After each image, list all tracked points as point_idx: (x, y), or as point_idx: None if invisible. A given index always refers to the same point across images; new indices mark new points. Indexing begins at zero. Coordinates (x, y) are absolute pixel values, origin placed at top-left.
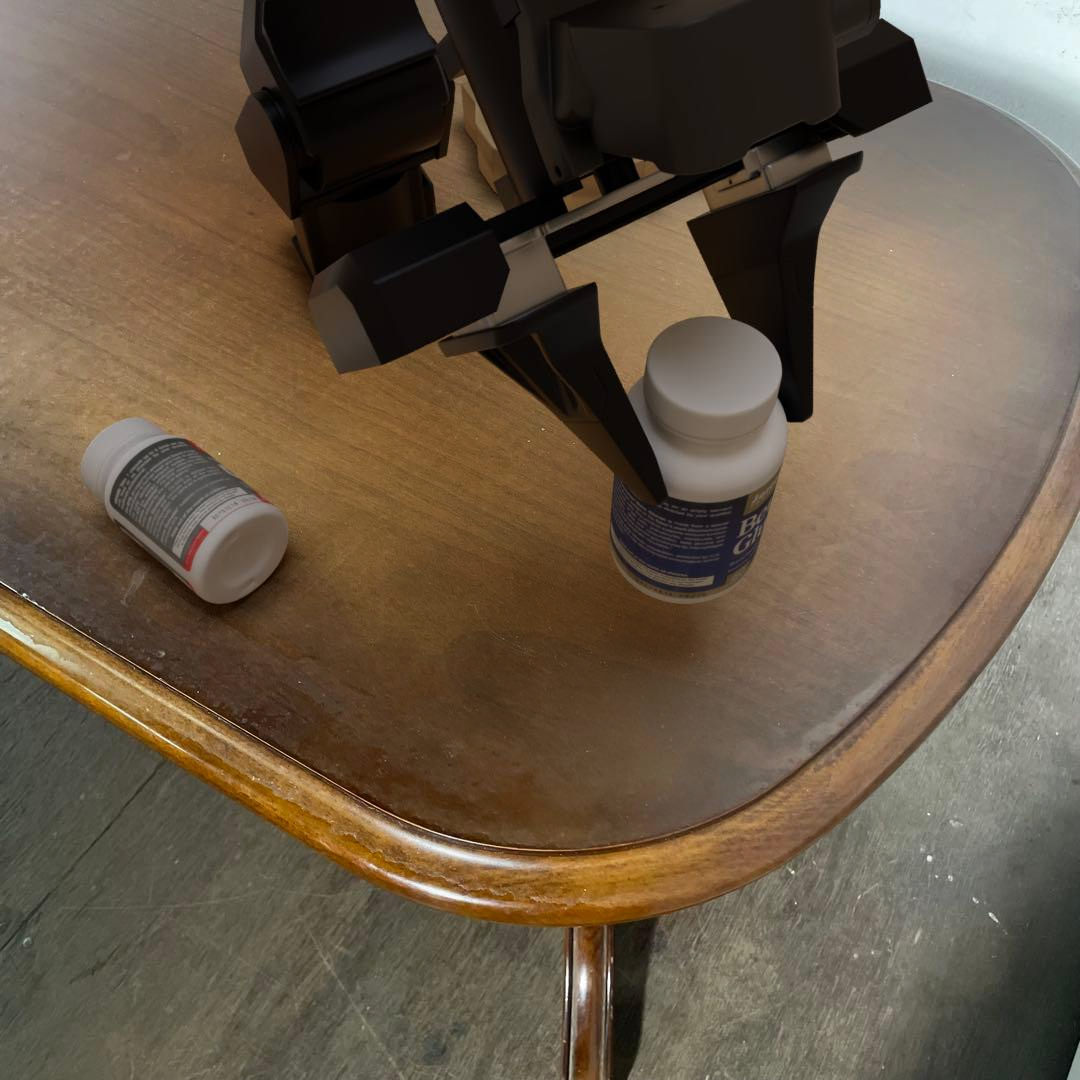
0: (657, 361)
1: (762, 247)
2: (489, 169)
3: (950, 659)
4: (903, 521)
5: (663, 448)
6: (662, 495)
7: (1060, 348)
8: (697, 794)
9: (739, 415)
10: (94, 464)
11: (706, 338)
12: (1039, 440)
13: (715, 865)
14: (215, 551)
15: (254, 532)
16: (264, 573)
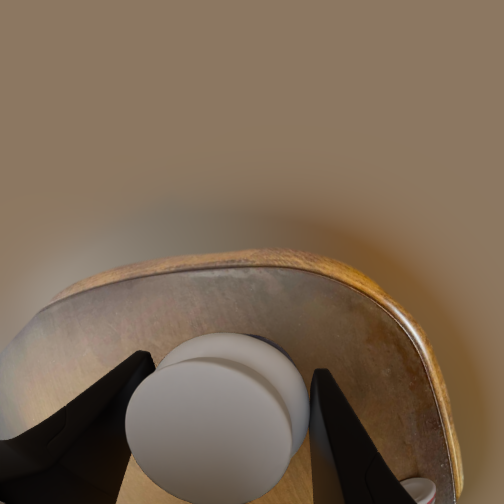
0: (258, 485)
1: (61, 484)
2: None
3: (162, 262)
4: (120, 327)
5: (290, 411)
6: (323, 371)
7: (23, 332)
8: (309, 286)
9: (234, 368)
10: None
11: (182, 471)
12: (55, 310)
13: (323, 256)
14: (428, 494)
15: None
16: None
